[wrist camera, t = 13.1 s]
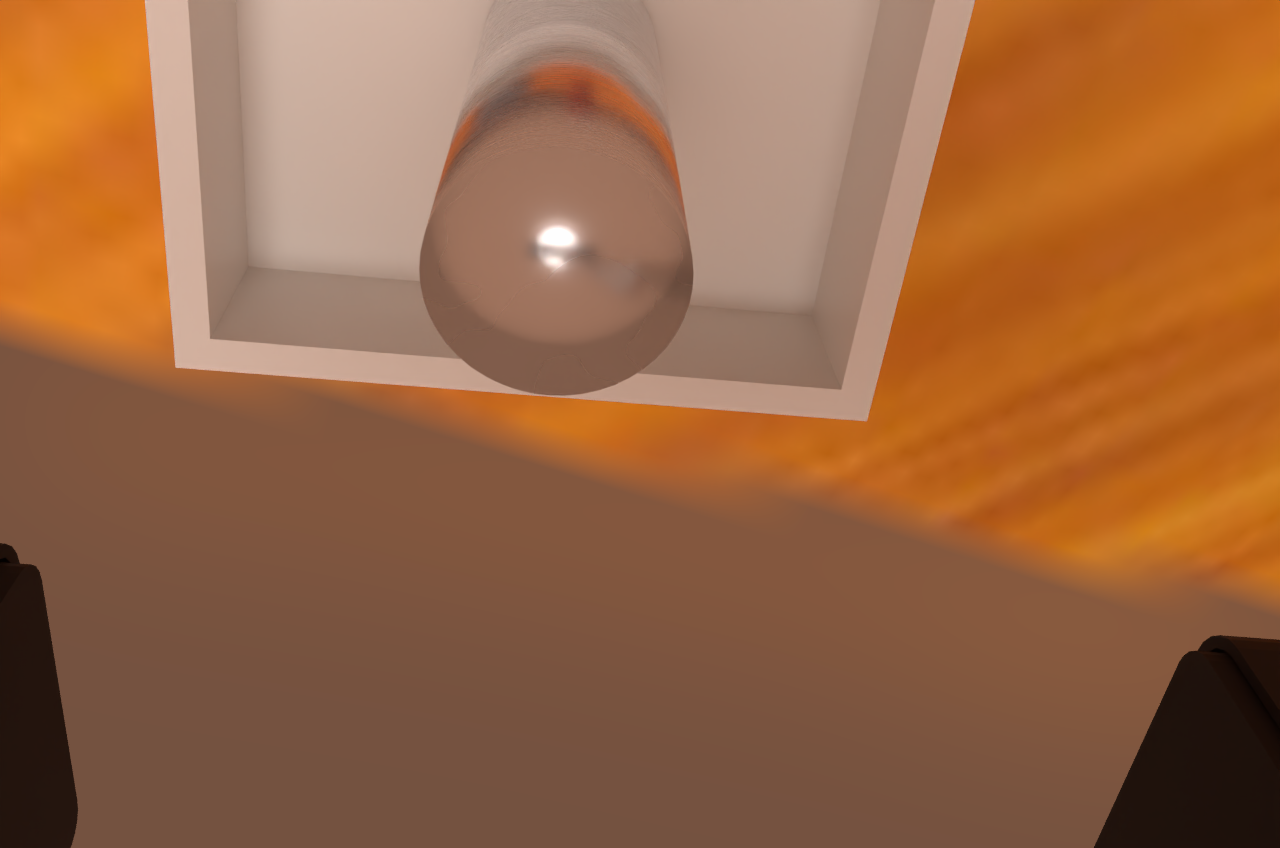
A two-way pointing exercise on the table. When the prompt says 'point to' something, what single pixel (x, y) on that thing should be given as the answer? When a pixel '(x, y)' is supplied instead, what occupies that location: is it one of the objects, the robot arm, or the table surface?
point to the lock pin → (560, 203)
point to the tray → (417, 150)
